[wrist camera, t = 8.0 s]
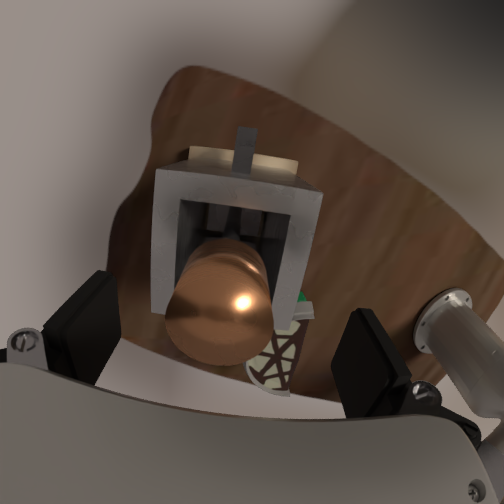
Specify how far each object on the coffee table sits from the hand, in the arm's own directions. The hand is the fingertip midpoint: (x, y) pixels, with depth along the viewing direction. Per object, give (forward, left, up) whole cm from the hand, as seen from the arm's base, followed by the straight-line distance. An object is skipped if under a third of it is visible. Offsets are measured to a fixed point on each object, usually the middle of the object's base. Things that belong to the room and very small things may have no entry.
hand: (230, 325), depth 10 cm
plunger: (0, 0, -19) cm, 20 cm away
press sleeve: (0, -2, -20) cm, 20 cm away
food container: (-5, +13, -22) cm, 26 cm away
